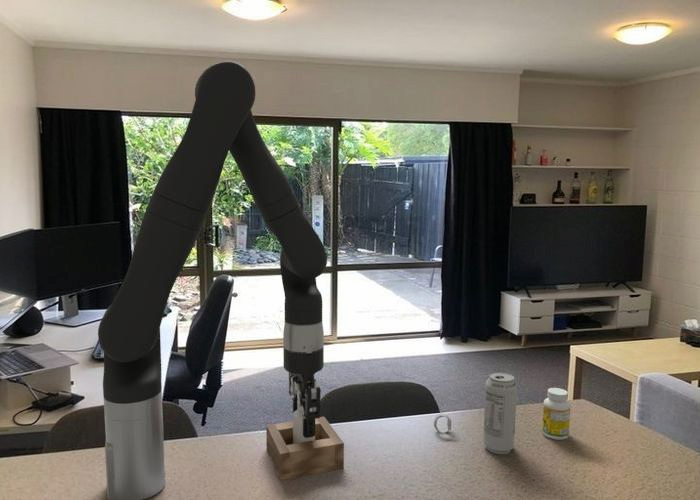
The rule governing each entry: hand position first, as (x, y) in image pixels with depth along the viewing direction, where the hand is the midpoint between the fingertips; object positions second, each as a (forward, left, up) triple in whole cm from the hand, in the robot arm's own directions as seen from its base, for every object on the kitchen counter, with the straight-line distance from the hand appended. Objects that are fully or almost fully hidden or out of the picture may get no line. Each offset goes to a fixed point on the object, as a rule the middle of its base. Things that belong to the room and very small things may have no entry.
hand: (303, 427), depth 106 cm
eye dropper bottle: (0, 0, -5) cm, 5 cm away
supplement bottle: (+53, -8, -6) cm, 54 cm away
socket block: (0, 0, -6) cm, 6 cm away
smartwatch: (+31, +1, -6) cm, 32 cm away
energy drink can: (+38, -9, -6) cm, 40 cm away
